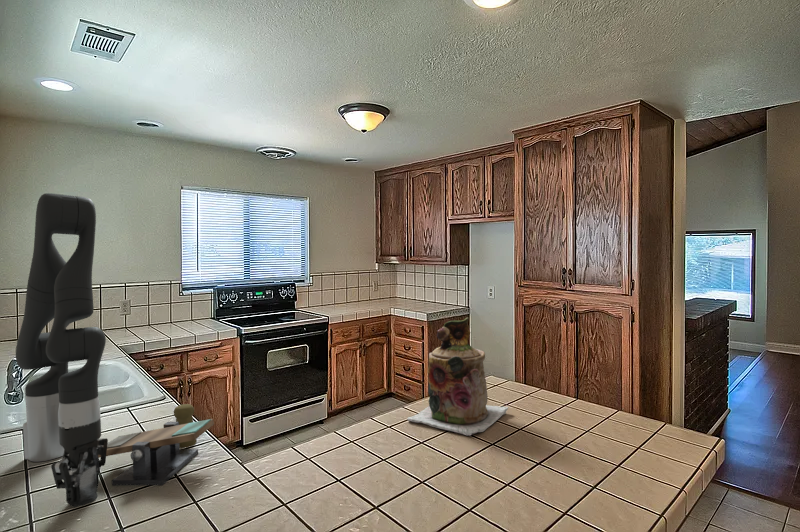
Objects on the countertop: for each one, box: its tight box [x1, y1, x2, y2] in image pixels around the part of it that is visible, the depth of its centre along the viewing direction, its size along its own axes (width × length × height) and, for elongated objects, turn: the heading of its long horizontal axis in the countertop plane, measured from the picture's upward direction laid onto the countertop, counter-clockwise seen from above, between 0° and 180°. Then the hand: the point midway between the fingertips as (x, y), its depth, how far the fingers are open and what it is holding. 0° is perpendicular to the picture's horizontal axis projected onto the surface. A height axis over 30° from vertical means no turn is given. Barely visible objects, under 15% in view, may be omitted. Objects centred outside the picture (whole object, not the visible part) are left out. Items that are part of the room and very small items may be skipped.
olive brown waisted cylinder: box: [173, 403, 198, 449], centre depth 130 cm, size 6×6×11 cm
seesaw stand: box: [111, 421, 199, 486], centre depth 115 cm, size 12×17×9 cm
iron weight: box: [68, 465, 98, 508], centre depth 101 cm, size 5×5×7 cm
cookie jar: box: [406, 317, 509, 437], centre depth 145 cm, size 25×25×32 cm
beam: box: [98, 418, 215, 459], centre depth 115 cm, size 25×10×2 cm, turn 87°
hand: (83, 496), depth 101 cm, fingers closed on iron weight, 5 cm apart
